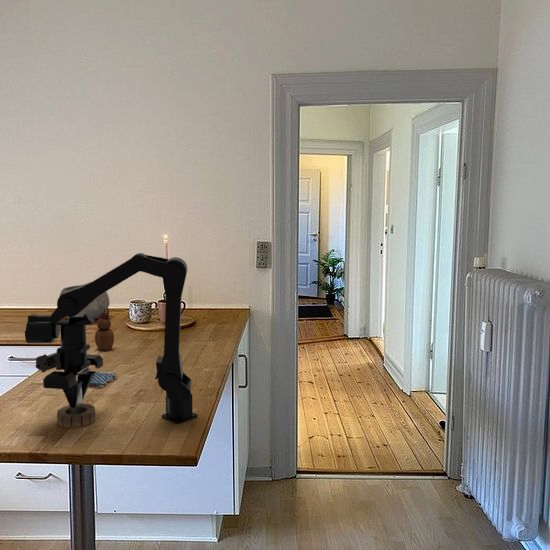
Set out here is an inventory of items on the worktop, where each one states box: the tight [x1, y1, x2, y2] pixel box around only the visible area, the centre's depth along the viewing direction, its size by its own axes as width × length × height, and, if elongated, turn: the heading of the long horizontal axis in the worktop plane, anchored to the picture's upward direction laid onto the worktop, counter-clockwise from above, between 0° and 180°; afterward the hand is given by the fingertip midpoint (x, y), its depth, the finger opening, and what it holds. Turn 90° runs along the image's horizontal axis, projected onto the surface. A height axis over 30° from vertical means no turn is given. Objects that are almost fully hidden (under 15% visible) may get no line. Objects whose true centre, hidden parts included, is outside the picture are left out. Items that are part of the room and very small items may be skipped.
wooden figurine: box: [94, 308, 115, 351], centre depth 197 cm, size 7×6×15 cm
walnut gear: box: [56, 403, 96, 429], centre depth 135 cm, size 9×9×3 cm
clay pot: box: [58, 284, 110, 320], centre depth 243 cm, size 21×21×15 cm
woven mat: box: [88, 371, 118, 389], centre depth 163 cm, size 10×11×2 cm
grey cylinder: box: [68, 385, 84, 414], centre depth 134 cm, size 3×3×8 cm
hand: (76, 404), depth 135 cm, fingers closed on grey cylinder, 3 cm apart
